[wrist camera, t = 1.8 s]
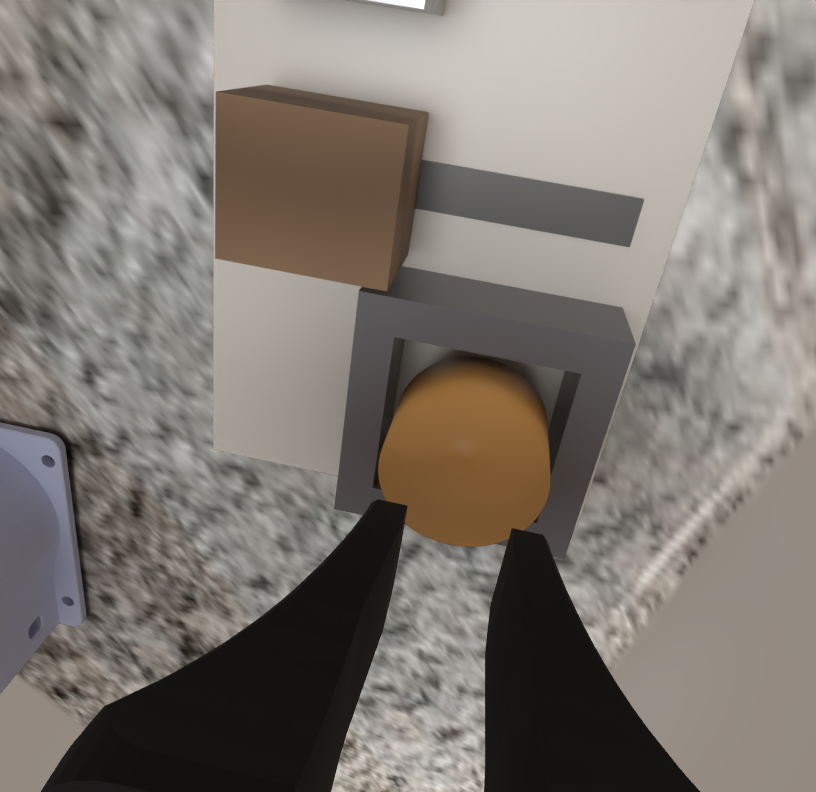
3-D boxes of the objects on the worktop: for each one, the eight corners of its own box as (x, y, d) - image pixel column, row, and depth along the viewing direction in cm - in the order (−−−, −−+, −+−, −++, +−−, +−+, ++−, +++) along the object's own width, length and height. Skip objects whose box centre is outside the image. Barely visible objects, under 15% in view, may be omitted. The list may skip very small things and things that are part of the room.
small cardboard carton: (408, 255, 18) (386, 291, 15) (261, 227, 18) (214, 258, 15) (428, 112, 16) (409, 124, 13) (266, 84, 16) (215, 91, 14)
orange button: (528, 501, 19) (528, 562, 16) (387, 471, 19) (369, 527, 17) (564, 373, 17) (570, 422, 14) (407, 342, 17) (389, 386, 15)
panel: (574, 504, 22) (582, 582, 19) (227, 431, 23) (178, 494, 20) (783, -136, 14) (859, -191, 11) (236, -211, 15) (155, -283, 12)
